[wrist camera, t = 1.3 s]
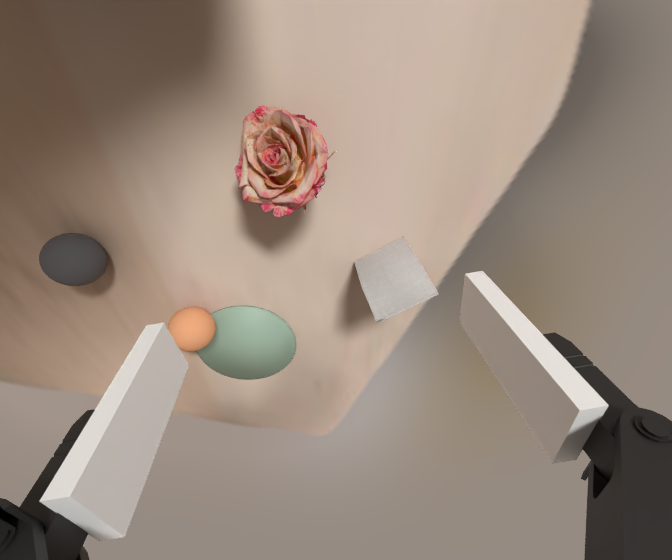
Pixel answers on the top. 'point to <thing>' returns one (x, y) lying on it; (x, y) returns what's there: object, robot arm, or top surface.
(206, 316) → the object ball
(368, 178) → the top surface
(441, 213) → the top surface
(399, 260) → the white paper snack bag
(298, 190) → the flower
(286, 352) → the green plate
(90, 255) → the dark grey ball
